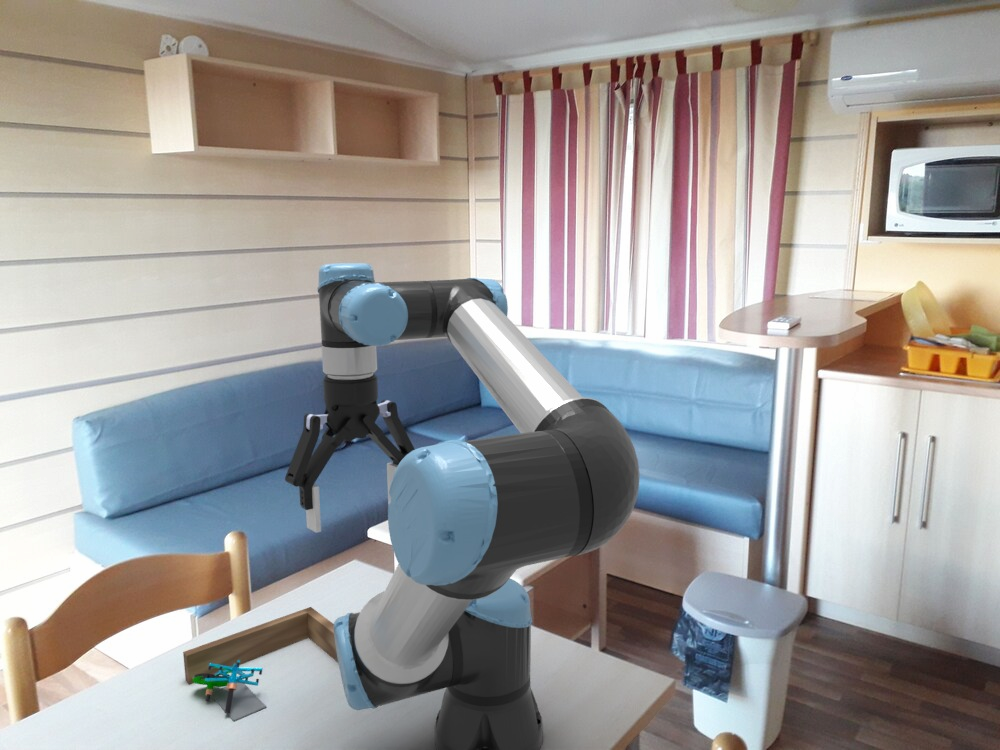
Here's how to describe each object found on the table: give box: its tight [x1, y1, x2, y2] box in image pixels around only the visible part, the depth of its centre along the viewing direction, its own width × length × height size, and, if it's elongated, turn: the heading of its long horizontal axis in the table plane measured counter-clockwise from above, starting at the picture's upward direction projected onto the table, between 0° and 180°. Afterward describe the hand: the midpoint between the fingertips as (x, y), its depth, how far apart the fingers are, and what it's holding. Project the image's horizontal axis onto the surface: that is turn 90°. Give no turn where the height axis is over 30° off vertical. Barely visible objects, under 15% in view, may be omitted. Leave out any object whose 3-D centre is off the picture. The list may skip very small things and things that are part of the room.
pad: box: [211, 682, 267, 722], centre depth 118 cm, size 9×5×1 cm, turn 41°
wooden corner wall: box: [182, 606, 338, 686], centre depth 124 cm, size 16×22×5 cm
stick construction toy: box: [192, 660, 264, 714], centre depth 117 cm, size 12×7×8 cm
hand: (356, 517), depth 114 cm, fingers open, 13 cm apart
